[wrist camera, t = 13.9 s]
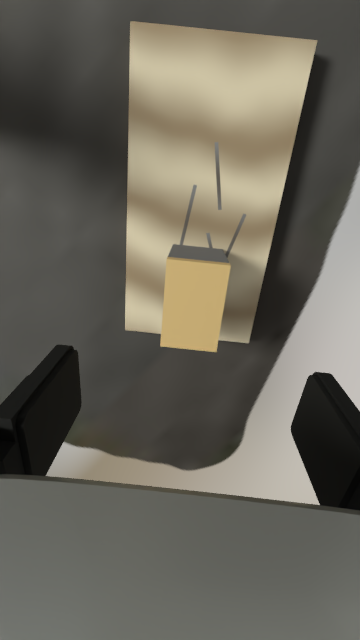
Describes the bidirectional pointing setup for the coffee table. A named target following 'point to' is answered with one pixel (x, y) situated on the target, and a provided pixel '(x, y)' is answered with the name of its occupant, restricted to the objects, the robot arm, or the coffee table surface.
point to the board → (208, 158)
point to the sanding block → (194, 297)
